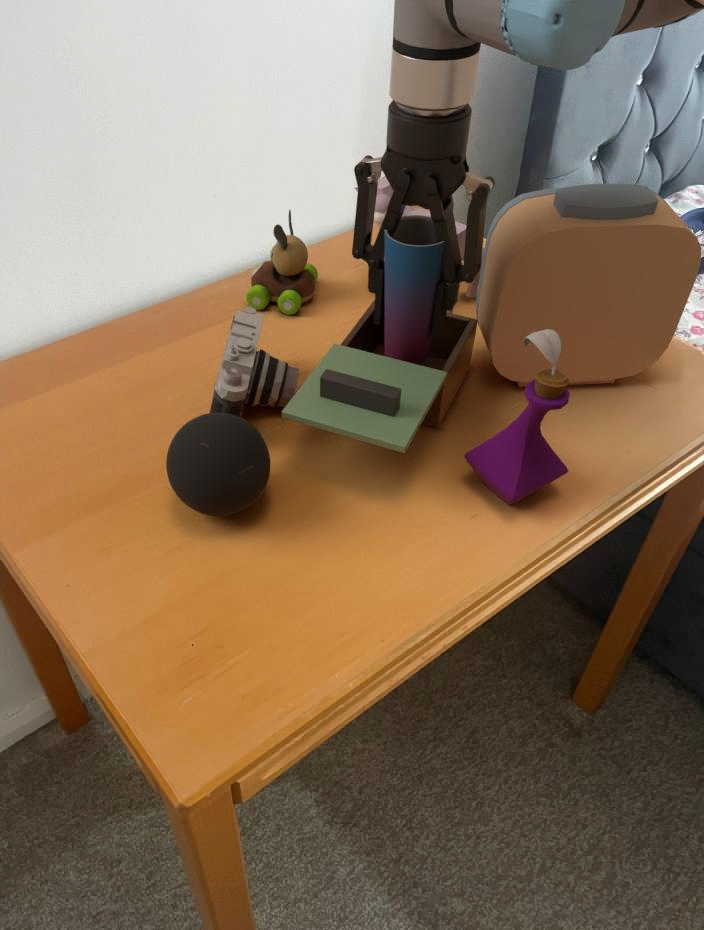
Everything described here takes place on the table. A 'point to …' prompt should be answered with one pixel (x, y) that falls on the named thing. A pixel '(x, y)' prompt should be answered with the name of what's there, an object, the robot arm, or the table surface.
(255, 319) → the camera
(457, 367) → the walnut box
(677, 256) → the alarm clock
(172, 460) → the speaker
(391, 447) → the sliding lid
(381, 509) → the table surface
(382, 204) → the pink legged piece
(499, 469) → the perfume bottle
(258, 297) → the toy car
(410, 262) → the cup
